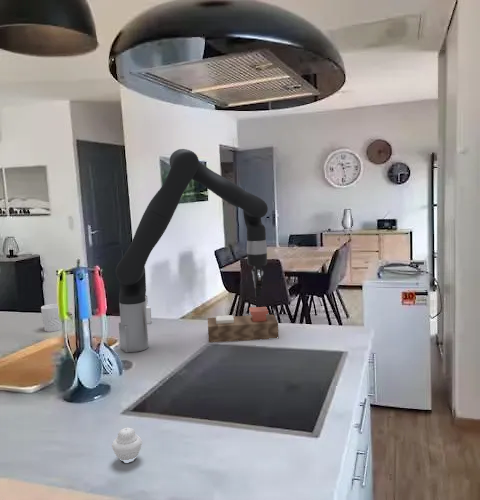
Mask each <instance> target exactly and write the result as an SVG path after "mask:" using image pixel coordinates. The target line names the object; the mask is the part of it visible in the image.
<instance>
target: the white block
mask: <svg viewBox="0 0 480 500" xmlns="http://www.w3.org/2000/svg"><path fill="white" fill-rule="evenodd" d="M233 317H234V315H233V314H232V315H228V314H227V315H216V316H215V318H216V324H224V323H234V318H233Z"/></svg>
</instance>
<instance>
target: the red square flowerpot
mask: <svg viewBox="0 0 480 500" xmlns="http://www.w3.org/2000/svg"><path fill="white" fill-rule="evenodd" d="M248 310H249V311H248V312H249V314H250V316H252V322H260V321H266V315H269V310H268V308H267V306H253V307H251V306H250V307H249V308H248Z"/></svg>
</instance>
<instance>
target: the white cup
mask: <svg viewBox="0 0 480 500" xmlns="http://www.w3.org/2000/svg"><path fill="white" fill-rule="evenodd" d="M57 304H58V303H51V304H45V305H42V306H41V307H40V311H41V318H42V324H43V329H44V332H49V333H51V332H52V333H53V332H57V331H60V330H62V329H61V324H60V321H59V317H58V306H57Z"/></svg>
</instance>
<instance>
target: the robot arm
mask: <svg viewBox="0 0 480 500" xmlns="http://www.w3.org/2000/svg"><path fill="white" fill-rule="evenodd" d="M169 166H170V169H169V171H168V174H167V176H166V177H165V181H164V182H163V184H162V186H161V187H160V188H159V190H158V191H156V193H155V194H154V195H153V197H152V198H151V200H150V202H149V203H148V204H147V207H146V208H145V211H144V212H143V215H142V216H141V219H140V221H139V223H138V226H137V228H136V230H135V233H134V235H133V238H132V241H131V243H130V244H129V247H128V248H127V250H126V251H125V253H124V254H123V256H122V257H121V259H120V261H119V262H118V263H117V265H116V268H115V276H116V278H117V280H118V281H119V294H118V302H119V303H118V304H119V316H120V320H119V321H120V322H118V331H119V346H120V347H119V348H120V349H121V350H123V352H125V353H127V354H128V353H136V352H137V353H138V352H142V351H144V350H147V349H148V348H149V333H148V331H149V329H148V324H147V314H146V296H147V284H146V283H147V280H146V277H147V276H146V264H147V262H148V259H149V257H150V254H151V253H152V252H153V249H155V247H156V245H157V244H158V243H159V241H160V240H161V238H162V237H163V235H164V233H165V232H166V230H167V228H168V226H169V225H170V222H171V221H172V218H173V216H174V214H175V212H176V210H177V207H178V206H179V203H180V201H181V198H182V197H183V193H184V192H185V190H186V189H187V187H188V186H189V184H190V182H191V181H192V180H193V181H195V182H197V183H198V184H200V185H202V186H203V187H204V188H206V189H207V190H209V191H211V193H213V194H215V195H216V196H218V197H219V198H220V199H222V200H224V201H225V202H227V203H228V204H230V205H232V206H234V207H237V208H240V209H242V213H243V219H244V223H245V227H246V263H247V266H251V267H253V268H252V269H251V274H252V280H253V287H254V295H255V298H256V299H261V298H262V288H263V283H264V282H263V281H264V270H263V268H262V266H266V265H267V264H268V246H267V240H266V239H267V238H266V234H267V233H266V227H265V225H264V224H263V222H262V219H261V218H264V217H265V216H266V214H267V213H268V210H269V209H268V204H267V202H265V201H264V200H263V199H262V198H261V197H258V196H257V195H255V194H252V192H251V193H250V192H248V191H247V190H245V189H243V188H242V187H240V186H239V185H238V184H236V183H235V182H233V181H231V180H230V179H228V178H226V177H224V176H223V175H221V174H218V173H216V172H215V171H213V170H212V169H210V168H208V167H207V166H205V164H203V163H202V162H200V159H199V157H198V155H197V154H196V153H195V152H194V151H192V150H190V149H187V148H186V149H185V148H180V149H176V150H174V151H173V152H172V153H171V155H170V157H169Z"/></svg>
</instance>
